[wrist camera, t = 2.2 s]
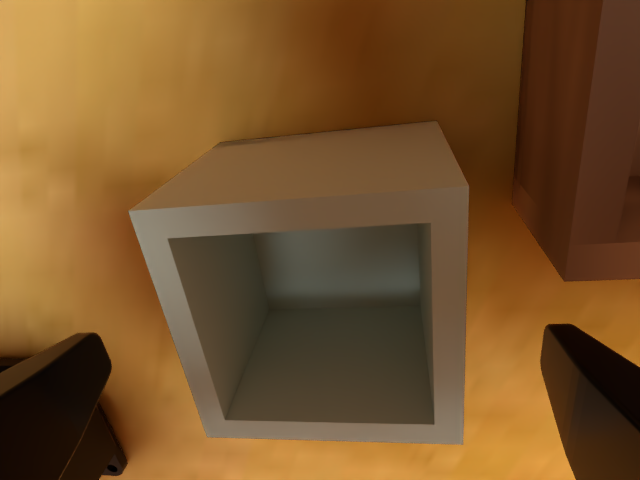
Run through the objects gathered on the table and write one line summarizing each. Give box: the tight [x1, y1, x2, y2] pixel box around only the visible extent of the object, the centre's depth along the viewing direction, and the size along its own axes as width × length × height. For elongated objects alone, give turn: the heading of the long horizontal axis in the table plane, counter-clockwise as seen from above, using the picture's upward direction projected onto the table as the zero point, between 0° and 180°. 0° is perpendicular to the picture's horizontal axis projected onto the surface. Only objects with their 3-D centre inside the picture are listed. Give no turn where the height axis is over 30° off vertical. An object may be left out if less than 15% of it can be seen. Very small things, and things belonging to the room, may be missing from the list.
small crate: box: [128, 121, 469, 445], centre depth 11 cm, size 6×6×5 cm
